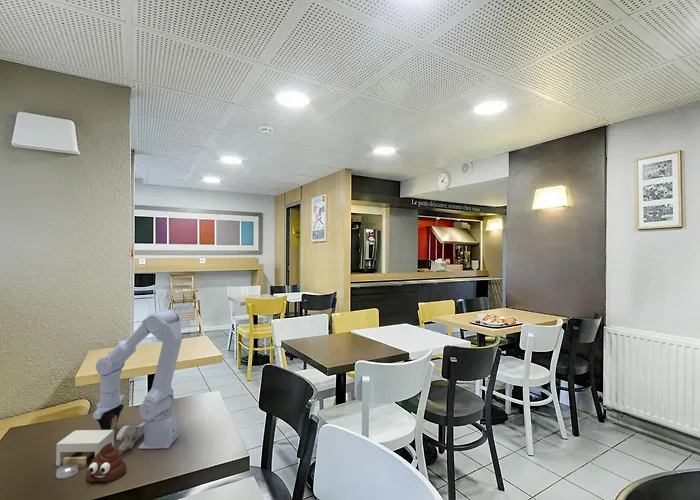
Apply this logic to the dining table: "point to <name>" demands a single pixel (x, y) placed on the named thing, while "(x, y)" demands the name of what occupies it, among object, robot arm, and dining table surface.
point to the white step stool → (83, 443)
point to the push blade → (83, 458)
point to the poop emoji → (106, 465)
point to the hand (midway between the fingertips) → (109, 430)
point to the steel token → (67, 470)
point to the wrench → (130, 435)
